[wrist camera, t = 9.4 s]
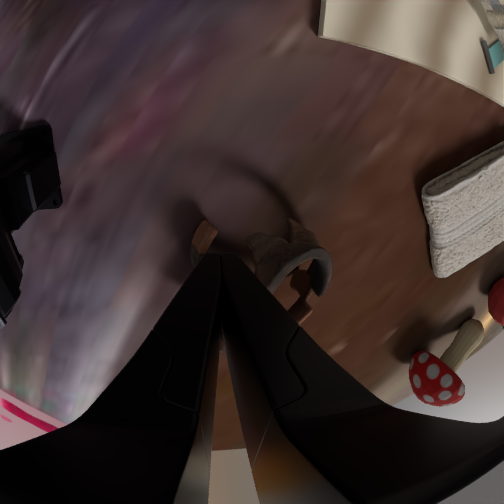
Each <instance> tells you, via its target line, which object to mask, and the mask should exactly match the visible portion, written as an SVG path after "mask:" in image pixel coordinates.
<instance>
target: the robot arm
mask: <svg viewBox="0 0 504 504" xmlns="http://www.w3.org/2000/svg"><path fill="white" fill-rule="evenodd" d="M44 129H45V130H46V132H47V133H46V135H45V134H44ZM60 184H61V182H60V176H59V170H58V164H57V157H56V153H55V152H54V145H53V136H52V129H51V127H50V126H49V125H42V126H37V127H32V128H27V129H23V130H18V131H14V132H10V133H6V134H2V135H0V329H1V328H2V327H4V326H5V325H6V323H7V321H6V320H5V319H6V318H7V316H8V315H9V314H10V312H11V310H12V309H13V307H14V305H15V304H16V302H17V300H18V299H19V297H20V294H21V290H20V289H19V287H20V283H21V280H22V276H23V274H22V268H23V264H24V260H23V258H22V256H21V254H19V252H18V250H17V247H16V245H15V242H14V240H13V237H12V235H11V234H12V232H13V231H14V230H18V229H19V228H20V227H21V226H22V225H23V223H24V222H25V221H26V220H27V219H28V218H29V217H30V215H31V214H32V213H33V212H35V211H37V210H41V209H56V208H59V207H60V206H61V205H62V203H63V199H62V194H61V189H60ZM55 200H57V201H58V203H56V202H55ZM221 322H222V332H223V339H224V344H225V349H226V354H227V360H228V365H229V370H230V375H231V380H232V385H233V390H234V395H235V399H236V404H237V409H238V413H239V418H240V423H241V427H242V432H243V436H244V440H245V445H246V449H247V453H248V458H249V462H250V466H251V469H252V474H253V478H254V483H255V487H256V491H257V495H258V498H259V502H260V504H504V416H503V417H502V418H500V419H499V420H496V421H493V422H489V423H471V422H464V421H457V420H451V419H445V418H440V417H435V416H429V415H424V414H419V413H415V412H410V411H405V410H402V409H398V408H395V407H393V406H391V405H389V404H387V403H385V402H383V401H382V400H380V399H379V398H378V397H376V396H375V395H374V394H372V393H371V392H370V391H369V390H368V389H367V388H365V387H364V386H363V385H362V384H361V383H360V382H358V381H357V380H356V379H355V378H354V377H353V376H351V375H350V374H349V373H348V372H347V371H346V370H344V369H343V368H342V367H341V366H340V365H339V364H338V363H336V362H335V361H334V360H333V359H332V358H331V357H330V356H329V355H328V354H327V353H326V352H325V351H323V350H322V349H321V348H320V346H319V345H318V344H317V343H316V342H315V341H314V340H313V339H312V338H311V337H310V336H309V335H308V334H307V333H306V331H305V330H304V329H303V328H302V327H300V325H299V324H298V323H297V322H296V320H295V319H294V318H293V317H292V316H291V315H290V314H289V313H288V311H287V310H286V309H285V308H284V307H283V306H282V305H281V304H280V302H279V301H278V300H277V299H276V298H275V297H274V296H273V295H272V293H271V292H270V291H269V290H268V289H267V288H266V287H265V285H264V284H263V283H262V282H261V281H260V280H259V279H258V277H257V276H256V275H255V274H254V273H253V272H252V271H251V270H250V268H249V267H248V266H247V265H246V264H245V263H244V262H243V260H242V259H241V258H240V257H239V256H238V255H237V254H236V253H234V252H230V253H221V255H220V253H205V254H204V255H203V257H202V258H201V260H200V261H199V262H198V264H197V265H196V267H195V268H194V269H193V271H192V272H191V274H190V275H189V276H188V278H187V279H186V281H185V282H184V284H183V285H182V286H181V288H180V289H179V291H178V292H177V294H176V295H175V297H174V298H173V299H172V301H171V302H170V304H169V305H168V307H167V308H166V310H165V311H164V313H163V314H162V315H161V317H160V318H159V320H158V321H157V323H156V324H155V326H154V327H153V330H151V331H150V333H149V334H148V336H147V337H146V339H145V340H144V342H143V343H142V345H141V346H140V347H139V349H138V350H137V352H136V353H135V354H134V356H133V357H132V358H131V359H130V361H129V362H128V363H127V364H126V365H125V367H124V368H123V369H122V370H121V371H120V373H119V374H118V375H117V376H116V377H115V378H114V380H113V381H112V382H111V383H110V384H109V385H108V387H107V388H106V389H105V390H104V391H103V392H102V393H101V395H100V396H99V397H98V398H97V399H96V400H95V402H94V403H93V404H92V405H91V406H90V407H89V409H88V410H87V411H86V412H85V413H83V414H82V415H81V416H80V417H79V418H78V419H76V420H75V421H73V422H72V423H70V424H68V425H66V426H64V427H61V428H59V429H56V430H54V431H51V432H49V433H46V434H44V435H41V436H39V437H36V438H33V439H31V440H28V441H25V442H23V443H20V444H17V445H14V446H12V447H9V448H5V449H2V450H0V504H208V496H209V480H210V464H211V449H212V436H213V422H214V410H215V397H216V386H217V374H218V363H219V352H220V341H221Z"/></svg>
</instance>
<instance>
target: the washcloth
mask: <svg viewBox="0 0 504 504" xmlns="http://www.w3.org/2000/svg"><path fill="white" fill-rule="evenodd" d="M422 203H423V208H424V213H425V216H426V219H427V221H428V224H429V230H430V237H431V239H430V241H429V244H430V253H431V258H432V260H431V262H432V267H433V272H434V274H435V276H437V277H439V278H442V277H447V276H449V275H450V274H452V273H454V272H456V271H457V270H460V269H461V268H463V267H464V266H466V265H467V264H468V263H469V262H472V261H473V260H474V259H476V258H479V257H480V256H481V255H483V254H485V253H486V252H488V251H489V250H491V249H492V248H493V247H494V246H496V245H498V244H499V243H500V242H501V241H504V141H503V142H501V143H498V144H497V145H495V146H493V147H492V148H490V149H488V150H486V151H484V152H482V153H481V154H479V155H477V156H475V157H473V158H471V159H470V160H468V161H466V162H465V163H463V164H461V165H460V166H458V167H456V168H454V169H452V170H450V171H448V172H446V173H444V174H442V175H440V176H438V177H437V178H435V179H433V180H431V181H430V182H428V183H427V184H425V185H424V187H423V188H422Z"/></svg>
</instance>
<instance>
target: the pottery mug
mask: <svg viewBox="0 0 504 504" xmlns="http://www.w3.org/2000/svg"><path fill="white" fill-rule="evenodd" d="M287 223H288V225H289V230H290V232H289V239H290V241H289V243H288V242H287V241H286V240H285V239H284V238H281V237H278V236H271V235H266V234H263V233H256V234H253V235H251V236H249V237H248V238H247V239H246V240H245V243H246V244H247V246H248V247H249V248H250V249H251V250H252V256H253V261H254V266H255V275H256V276H257V277H258V279H259V280H260V281H261V282H262V283H263V284H264V285H265V287H266V288H267V289H268V290H269V291H270V292H271V293H272V294H273V292H274V291H275V290H276V288H277V287H278V286H279V284H280V283H281V281H282V280H283V279H284V278H285V277H286V276H287V275H288V274H289V273H290V272H291V271H292V270H293V269H294V268H296V267H297V266H298V265H300V264H301V263H303V262H305V261H307V260H310V259H313V261H312V263H311V264H310V266H309V268H308V270H307V271H306V270H299V269H296V270H295V271H294V273H293V275H292V278H291V282H290V287H291V288H292V289H293V290H296V291H297V292H298V293H299V295H300V297H299V298H298V300H297V301H296V302H295V303H294V304H293V306H292V307H291V308H290V309H289V310H288V313H289V314H290V315H291V316H292V317H293V318H294V319H295V320H296V322H297V323H298V324H299V325H300V324H301V323H302V322H303V321H304V320H305V319H306V318H307V317H308V316H309V315H310V314H311V313H312V311H313V309H312V307H311V306H310V305H308V304H307V300H308V299H309V298H310V296H311V294H312V292H313V291H314V292H315V294H316V295H317V296H318V297H322V296H323V294H324V293H325V292H326V290H327V288H328V285H329V283H330V279H331V276H332V268H333V266H332V260H331V257H330V254H329V253H328V252H327V251H326V250H325V249H324V248H322V247H320V245H319V241H318V240H317V237H316V235H315V234H314V233H313V232H311V231H309V230H307V229H306V228H304V227H303V226H301V225H300V224H299V223H298V222H296V221H295V220H293V219H291V218H288V219H287ZM217 233H218V230H217V229H216V228H215V227H214V226H213V225H210V223H209V222H208V221H207V220H206V219H205V220H203V221H202V222H201V224H200V225H199V226H198V228H197V230H196V232H195V234H194V236H193V239H192V243H191V246H190V259H191V263H192V265H193V267H194V268H195V267H196V265H197V264H198V262H199V261H200V260H201V258H202V257H203V255H204V254H205V253H207V251H208V248H209V246H210V244H211V242H212V241H213V239H214V238H215V236H216V235H217ZM219 353H226V349H225V344H224V339H223V332H222V322H221V341H220V352H219Z"/></svg>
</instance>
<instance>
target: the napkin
mask: <svg viewBox="0 0 504 504" xmlns="http://www.w3.org/2000/svg"><path fill="white" fill-rule="evenodd" d="M499 1H500V3H501V4H504V0H499ZM318 37H320V38H325V39H330V40H335V41H339V42H343V43H348V44H352V45H355V46H359V47H363V48H367V49H370V50H374V51H377V52H380V53H383V54H387V55H390V56H393V57H396V58H399V59H402V60H404V61H407V62H410V63H413V64H415V65H418V66H421V67H423V68H426V69H428V70H431V71H433V72H435V73H438V74H440V75H442V76H445V77H447V78H449V79H451V80H454V81H456V82H458V83H460V84H462V85H464V86H466V87H468V88H470V89H472V90H474V91H476V92H478V93H480V94H482V95H483V96H485V97H487V98H489V99H491V100H492V101H494V102H496V103H498V104H499V105H501V106H503V107H504V53H503V50H502V48H501V45H500V43H499V40H498V38H497V35H496V33H495V31H494V28H493V26H492V25H491V24H490V22H489V20H488V17H487V13H486V11H485V9H484V7H483V5H482V3H481V1H480V0H321V10H320V20H319V30H318Z"/></svg>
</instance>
